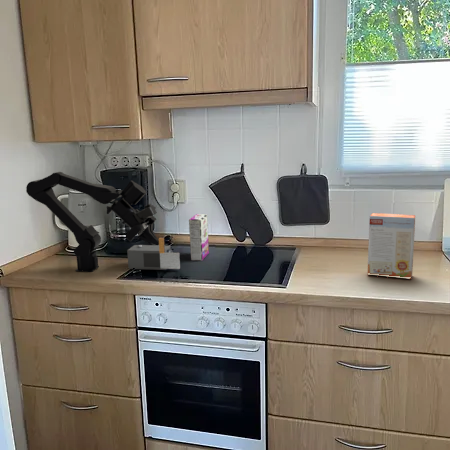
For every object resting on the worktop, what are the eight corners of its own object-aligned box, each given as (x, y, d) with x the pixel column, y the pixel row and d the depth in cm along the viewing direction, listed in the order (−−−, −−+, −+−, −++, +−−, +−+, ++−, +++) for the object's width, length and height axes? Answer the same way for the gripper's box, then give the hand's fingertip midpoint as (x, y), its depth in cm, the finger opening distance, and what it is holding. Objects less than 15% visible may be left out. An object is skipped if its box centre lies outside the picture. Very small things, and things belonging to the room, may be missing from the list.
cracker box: (412, 275, 158) (416, 214, 154) (411, 280, 153) (415, 217, 149) (369, 271, 164) (372, 212, 160) (366, 275, 159) (369, 215, 155)
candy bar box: (197, 253, 192) (196, 213, 189) (209, 253, 191) (208, 213, 188) (189, 260, 182) (188, 219, 178) (202, 261, 181) (201, 219, 177)
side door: (160, 268, 169) (158, 238, 167) (161, 267, 170) (159, 237, 168) (179, 269, 168) (177, 238, 166) (180, 268, 169) (178, 238, 167)
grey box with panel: (128, 268, 172) (127, 248, 171) (135, 262, 180) (134, 243, 179) (168, 269, 170) (167, 249, 169) (174, 263, 178) (173, 244, 176)
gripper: (132, 202, 156) (166, 234, 157) (149, 194, 174) (179, 223, 175) (111, 225, 159) (145, 257, 159) (130, 215, 177) (160, 243, 178)
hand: (158, 244), depth 168 cm, fingers closed, pressing on side door
